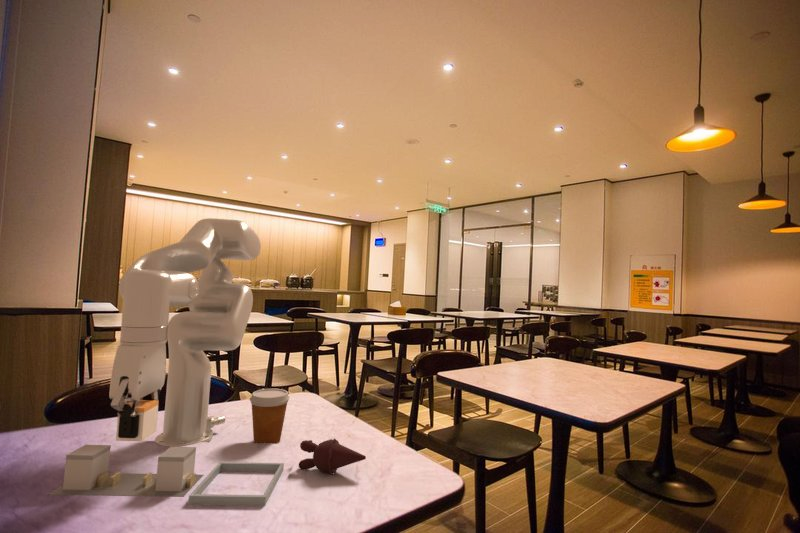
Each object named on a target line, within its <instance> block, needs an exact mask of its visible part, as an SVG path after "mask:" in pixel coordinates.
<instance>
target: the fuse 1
mask: <svg viewBox="0 0 800 533" xmlns="http://www.w3.org/2000/svg"><path fill="white" fill-rule="evenodd" d="M111 447H112V446H111V444H85V445H83V446H80V447H79V448H76V449H75V450H73V451H72V452H70V453H68V454H66V455H65V466H64V467H65V468H64V474H63V484H62V485H63V489H66V490H90V489H92V488H93V487H95V486H96V485H97V479H98V477H99V476H100V475H102V474H103V473H105V472H109V468H110V466H109V465H110V458H111Z"/></svg>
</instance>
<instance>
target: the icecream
mask: <svg viewBox="0 0 800 533" xmlns="http://www.w3.org/2000/svg"><path fill="white" fill-rule="evenodd" d="M299 447H300V450H302V451H303V452H306V453H307V454H308V453H309V454H311V453H313V454H312V458H304V459H301V460H300V461H299V463H298V468H299V469H300V470H304V469H305V470H310V469H313V468H316V469H317V470H319V472H322V473H326V474H331V475H334V474H335V473H336V471H335V470H338V469H339V468H343V467H346V466H348V465H351V464H354V463H358V462H361V461H364V460H366V455H364V454H362V453H361V452H358V451H355V450H354V449H350V448H349V447H347V446H345V445H343V444H341V443H339V440H337V439H336V438H333V439H332V438H331V439H328V440H324V441H321V442H320V443H318V444H317V443H316V442H313V440H311V439H310V440H302V441H301V443H300V444H299ZM333 473H334V474H333Z"/></svg>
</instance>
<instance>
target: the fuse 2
mask: <svg viewBox="0 0 800 533" xmlns="http://www.w3.org/2000/svg"><path fill="white" fill-rule="evenodd" d="M196 452H197V447H196V446H175V447H171V446H169V448H167V450H164V452H163V453H161V454H160V455H159V456H158V457H157V468H156V474H157V478H156V489H155V491H182V490H183V489H184V488H185V487H186V486H187V479H188V478H189V477H190V476H191V475H192V474H195V467H196V466H195V464H196Z"/></svg>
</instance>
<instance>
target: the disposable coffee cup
mask: <svg viewBox="0 0 800 533" xmlns="http://www.w3.org/2000/svg"><path fill="white" fill-rule="evenodd" d="M290 398H291V397H290V396H289V392H288V391H287V390H286V389H282V388H281V389H280V388H263V389H257V390H256V391H253V392H252V394H251V397H250V399H249V401H250V403H251V415H252V433H253V434H252V435H253V444H268V445H270V444H273V445H274V444H275V445H278V444H279V443H280V442H281V437H282V432H283V428H284V421H285V417H286V416H285V415H286V411H287V406H288V402H289V400H290Z"/></svg>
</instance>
